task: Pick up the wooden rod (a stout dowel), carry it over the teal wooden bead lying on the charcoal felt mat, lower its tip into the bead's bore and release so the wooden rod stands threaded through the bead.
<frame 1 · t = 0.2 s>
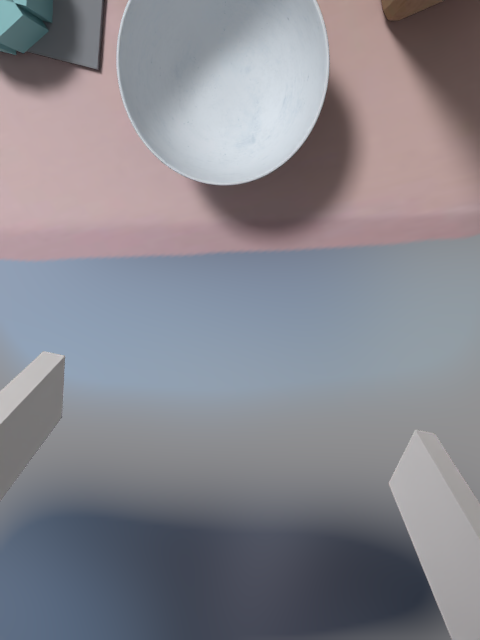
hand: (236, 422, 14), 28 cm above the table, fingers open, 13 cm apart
chinaware: (229, 90, 35), on the table
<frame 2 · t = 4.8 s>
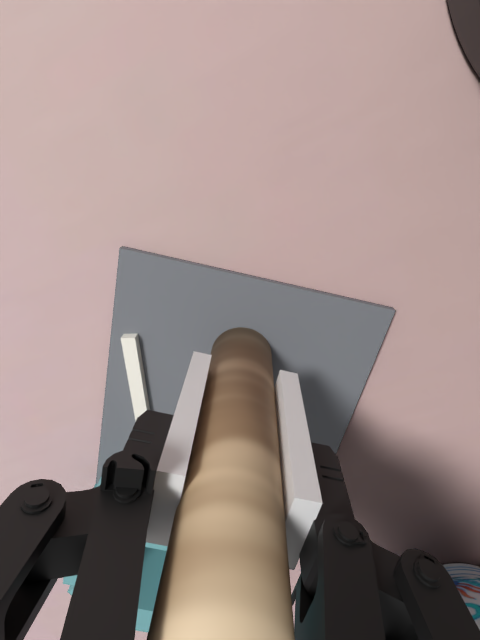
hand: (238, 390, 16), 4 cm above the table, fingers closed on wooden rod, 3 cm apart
wooden rod: (241, 354, 19), resting on mat, touching gripper
white stick: (142, 401, 21), resting on mat
chinaware: (448, 592, 27), on the table
bead: (166, 515, 24), resting on mat
mat: (218, 442, 22), on the table
when the fingers open (6 cm above the table, at t = 8.9 s): wooden rod drops 2 cm, resting on mat.
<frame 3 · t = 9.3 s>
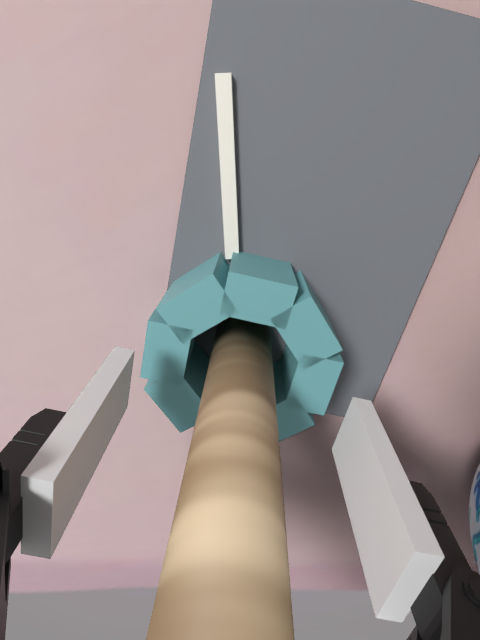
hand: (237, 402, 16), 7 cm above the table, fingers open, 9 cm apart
wooden rod: (243, 333, 22), resting on mat
white stick: (228, 173, 18), resting on mat
bead: (242, 333, 22), resting on mat
mat: (307, 234, 20), on the table
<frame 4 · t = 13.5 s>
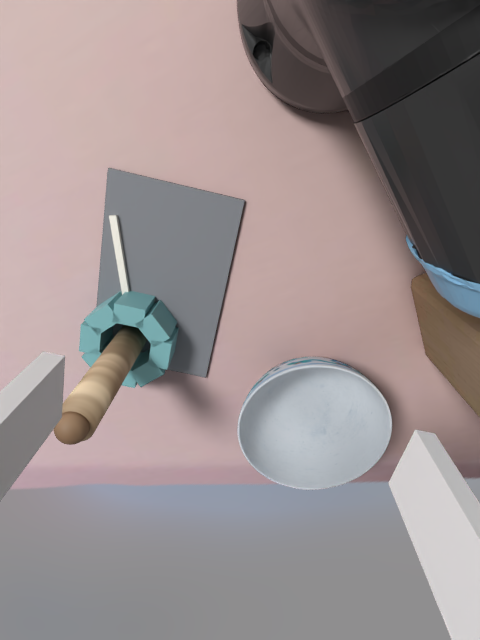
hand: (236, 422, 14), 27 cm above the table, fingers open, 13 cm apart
wooden block: (462, 302, 40), on the table
wooden rod: (136, 330, 42), resting on mat
white stick: (120, 255, 39), resting on mat
chinaware: (304, 387, 45), on the table
bead: (136, 330, 42), resting on mat
mat: (162, 282, 40), on the table
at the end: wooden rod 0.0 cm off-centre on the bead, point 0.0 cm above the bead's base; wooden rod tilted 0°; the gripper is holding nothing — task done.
